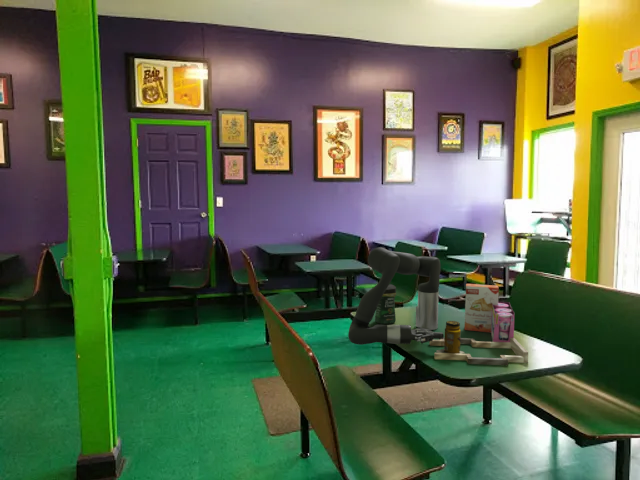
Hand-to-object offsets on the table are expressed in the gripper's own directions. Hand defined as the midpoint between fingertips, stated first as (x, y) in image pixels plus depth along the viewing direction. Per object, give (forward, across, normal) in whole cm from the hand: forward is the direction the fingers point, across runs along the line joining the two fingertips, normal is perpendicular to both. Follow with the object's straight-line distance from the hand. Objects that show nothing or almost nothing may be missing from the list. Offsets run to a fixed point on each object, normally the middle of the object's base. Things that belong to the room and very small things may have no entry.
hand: (443, 335), depth 176 cm
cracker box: (+21, +31, +7) cm, 38 cm away
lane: (+13, 0, +7) cm, 14 cm away
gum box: (+28, +20, +7) cm, 35 cm away
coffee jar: (-22, +39, +7) cm, 45 cm away
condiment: (+3, 0, +7) cm, 7 cm away
